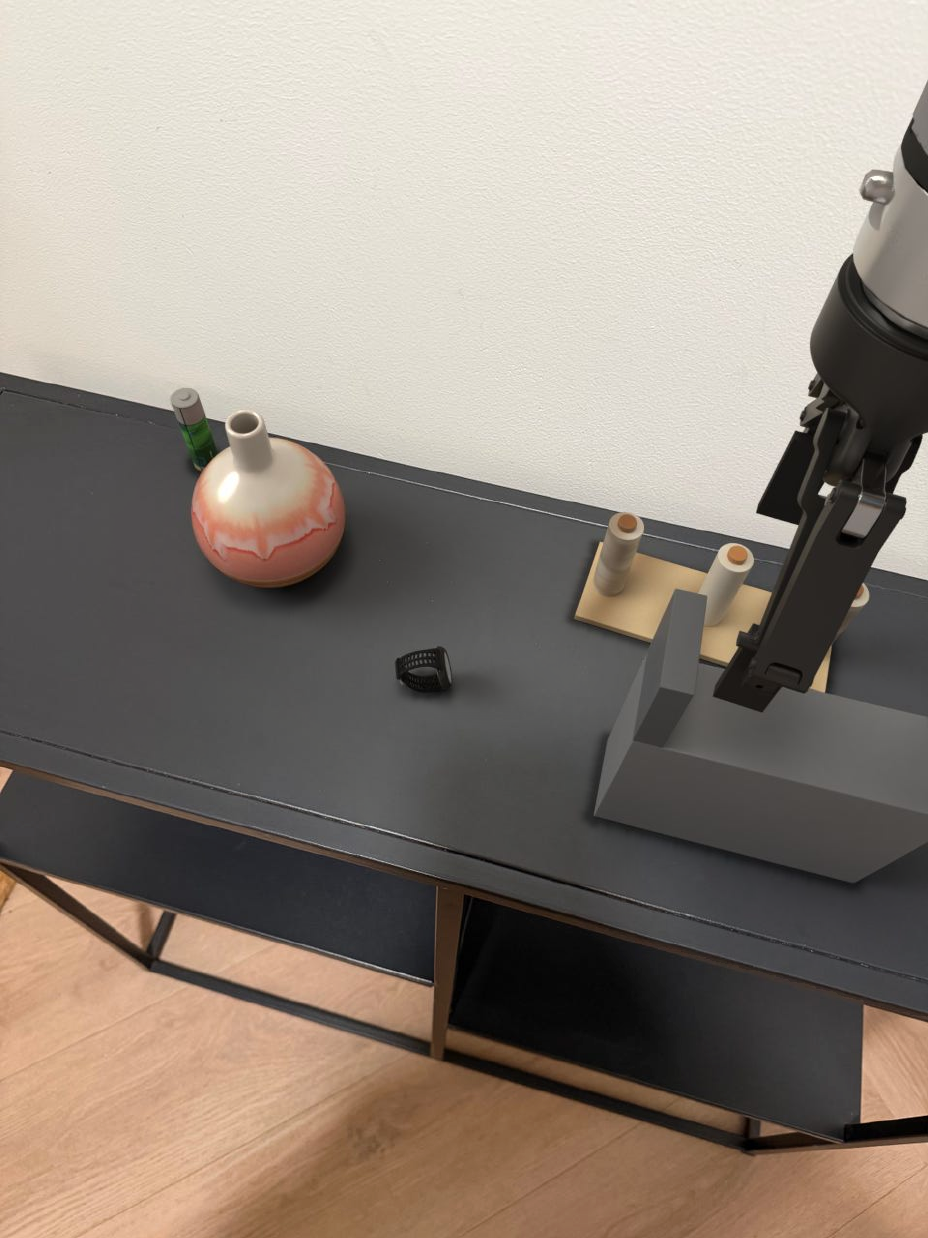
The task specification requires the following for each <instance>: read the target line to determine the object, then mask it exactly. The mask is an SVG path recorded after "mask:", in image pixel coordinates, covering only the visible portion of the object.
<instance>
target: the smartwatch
mask: <svg viewBox="0 0 928 1238" xmlns="http://www.w3.org/2000/svg"><path fill="white" fill-rule="evenodd" d="M394 666H395V667H394V668H395V678H396V680H397V681H398V682H399V684H401V686H404V685H405V686H406V687H407V688H408V689H410V690H412V691H414V692H418V693H430V692H436V691H439V690H445V691H448V690H450V689H451V687H452V685H453V671H452V666H451V660H450V657H449V654H448V651H447V649H446V648H444V647H443V646H439V645H438V646H436V647H434V648H433V647H432V648H426V649H418V650H415V651H410V652H408V653H406V654H404V655H402V656H401V657H397V658H396V659H395V662H394ZM419 668H432V669H435V670H436V673H434V674H428V675H419V674H415V673H412V672H410V671H413V670H415V669H419ZM429 686H430V687H429Z"/></svg>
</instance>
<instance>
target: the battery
mask: <svg viewBox="0 0 928 1238" xmlns="http://www.w3.org/2000/svg"><path fill="white" fill-rule="evenodd" d="M169 400H170V404H171V407H172V410H173V412H174V415H175V417H176V420H177V423H178V425H179V428H180V431H181V434H182V436H183V439H184V441H185V444H186V446H187V449H188V452H189V455H190V457H191V460H192V463H193V465H194V468H195V469H196V470H197V471H199V472H200V473H202V472H203V470H204V469H205V467H206V466H207V465H208V464H209V462H210V461H211V460H212V459H213V458H214V457H215V456H216V455H217V454H219V452H218V449H217V446H216V443H215V439H214V437H213V434H212V430H211V428H210V425H209V421H208V418H207V416H206V412H205V409H204V406H203V403H202V401H201V397H200V394H199V392H198V391H197V390H196V389H194V388H192V387H181V388H178V389H176V390H174V391H173V392H172V393H171V395H170V399H169Z"/></svg>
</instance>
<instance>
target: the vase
mask: <svg viewBox="0 0 928 1238" xmlns="http://www.w3.org/2000/svg"><path fill="white" fill-rule="evenodd" d="M224 428H225V432H226V436H227V439H228V440H227V441H228V444H229V446H228V447H226V448H224V449H223V450H221V451H220V452H218V454H217V455H216V456H215V457H214V458H213V459H212V460H211V461H210V462H209V464H208V465H207V466H206V467H205V469H204V470H203V472H200V475H199V478H198V479H197V481H196V483H195V486H194V490H193V494H192V497H191V504H190V505H191V506H190V515H191V525H192V529H193V534H194V536H195V540H196V542H197V545H198V547H199V548H200V550H201V552H202V554H203V555H204V556H205V558H206V559H207V560H208V561H209V563H210V564H211V565H212V566H213V567H214V568H215V569H216V570H218V571H219V572H220V573H221V574H223V575H224V576H226V577H227V578H229V579H231V580H233V581H235V582H238V583H240V584H243V585H246V586H250V587H255V588H265V589H272V588H273V589H274V588H283V587H289V586H291V585H295V584H297V583H300V582H302V581H304V580H306V579H309V578H311V577H312V576H313V575H315V574H316V573H318V572H319V571H320V570H321V569H322V568H323V567H325V566H326V565H327V564H328V562H329V561H330V560H331V559H332V558H333V557H334V555H335V553H336V552H337V551H338V548H339V547H340V544H341V542H342V539H343V536H344V532H345V528H346V519H347V518H346V517H347V516H346V504H345V500H344V496H343V495H344V494H343V492H342V490H341V488H340V485H339V483H338V480H337V478H336V477H335V475H334V474H333V471H332V470H331V469H330V468H329V466H327V464H326V463H325V462H324V461H323V460H322V459H321V458H320V457H319V456H318V455H316V454H315V453H313V452H312V451H311V450H309V449H308V448H306V447H304V446H302V445H301V444H298V443H296V442H293V441H291V440H287V439H284V438H280V437H270V436H269V433H268V429H267V426H266V423H265V420H264V417H263V416H262V415H261V414H260V412H258V411H256V410H252V409H239V410H236V411H234V412H233V413H231V414H230V415H229V416H228V417H227V418H226V420H225V423H224Z"/></svg>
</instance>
